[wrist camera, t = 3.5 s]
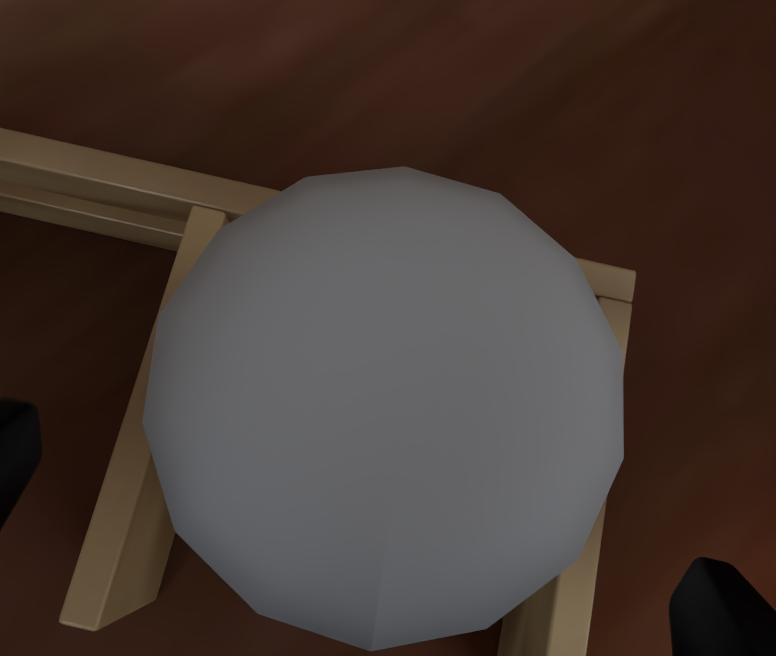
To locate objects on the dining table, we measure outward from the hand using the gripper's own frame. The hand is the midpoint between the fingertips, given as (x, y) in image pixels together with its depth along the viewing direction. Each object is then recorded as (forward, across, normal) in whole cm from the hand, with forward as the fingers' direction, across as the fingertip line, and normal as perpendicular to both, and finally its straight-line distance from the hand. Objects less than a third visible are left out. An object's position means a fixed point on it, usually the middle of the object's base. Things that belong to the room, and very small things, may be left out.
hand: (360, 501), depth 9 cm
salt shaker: (+7, 0, +6) cm, 9 cm away
